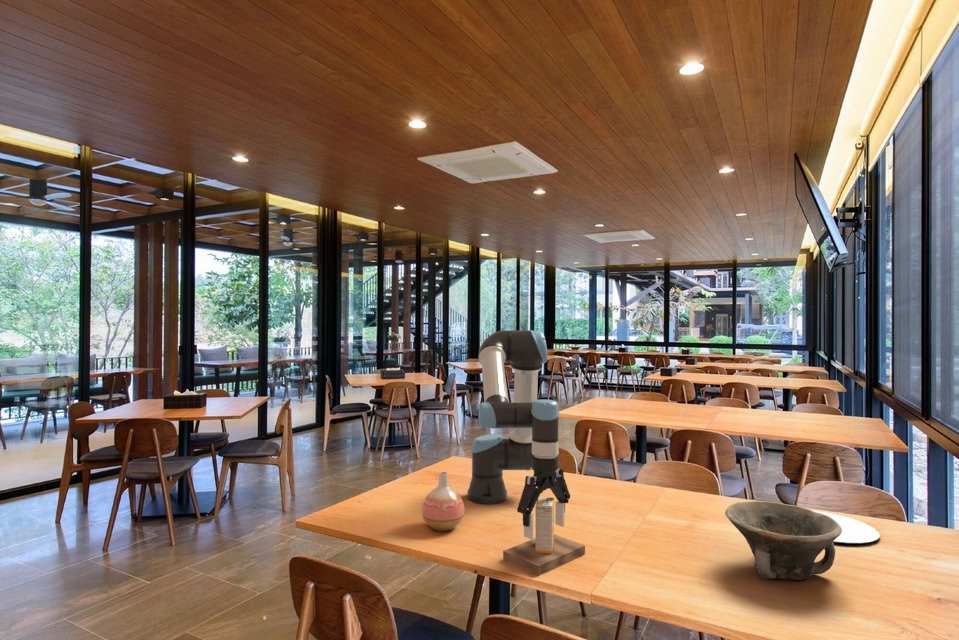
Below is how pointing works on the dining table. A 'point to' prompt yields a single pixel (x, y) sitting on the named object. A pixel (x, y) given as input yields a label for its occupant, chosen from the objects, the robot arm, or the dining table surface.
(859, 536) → the plate
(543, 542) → the supplement box
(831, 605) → the dining table surface
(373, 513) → the dining table surface
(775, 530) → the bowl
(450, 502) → the vase
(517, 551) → the walnut board
